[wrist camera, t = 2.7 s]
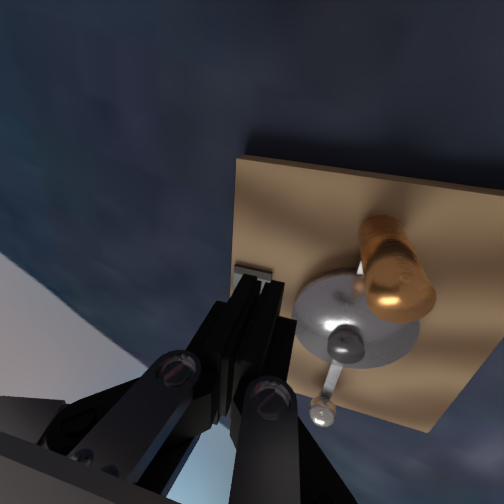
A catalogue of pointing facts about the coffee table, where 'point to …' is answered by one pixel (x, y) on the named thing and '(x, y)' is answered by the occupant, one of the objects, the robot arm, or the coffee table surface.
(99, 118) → the coffee table surface
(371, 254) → the cam capstan
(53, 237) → the coffee table surface
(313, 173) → the stand
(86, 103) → the coffee table surface
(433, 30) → the coffee table surface
